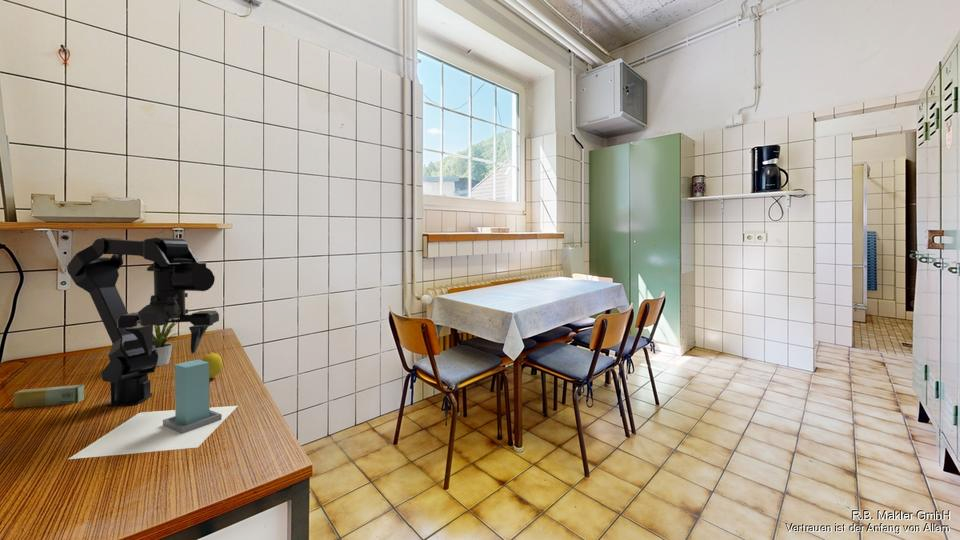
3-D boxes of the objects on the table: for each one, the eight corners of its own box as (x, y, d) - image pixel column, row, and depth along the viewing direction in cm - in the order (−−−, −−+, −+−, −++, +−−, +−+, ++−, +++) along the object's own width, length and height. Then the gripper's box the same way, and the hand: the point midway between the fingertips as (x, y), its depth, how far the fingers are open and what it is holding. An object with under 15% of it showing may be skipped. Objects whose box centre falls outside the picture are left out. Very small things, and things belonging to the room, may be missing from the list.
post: (175, 424, 80) (174, 364, 80) (198, 416, 84) (197, 359, 84) (186, 429, 78) (185, 367, 78) (209, 420, 82) (208, 362, 82)
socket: (162, 425, 80) (162, 419, 80) (202, 412, 87) (202, 407, 86) (181, 433, 76) (181, 428, 76) (221, 419, 83) (221, 414, 83)
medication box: (85, 399, 96) (85, 383, 96) (78, 403, 93) (78, 387, 93) (21, 405, 92) (21, 388, 92) (12, 409, 89) (12, 392, 89)
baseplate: (67, 464, 66) (67, 459, 66) (139, 416, 86) (139, 412, 86) (197, 452, 71) (197, 447, 71) (238, 409, 91) (238, 405, 91)
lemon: (207, 375, 115) (207, 349, 114) (226, 375, 115) (226, 349, 115) (195, 381, 109) (195, 354, 109) (215, 381, 109) (215, 354, 109)
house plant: (189, 355, 136) (188, 310, 135) (192, 364, 126) (191, 315, 125) (135, 362, 127) (134, 314, 126) (134, 372, 116) (133, 320, 115)
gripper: (97, 294, 80) (100, 366, 81) (197, 292, 85) (199, 360, 85) (132, 289, 91) (133, 353, 92) (219, 288, 96) (220, 349, 96)
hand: (171, 354), depth 91 cm, fingers open, 9 cm apart
